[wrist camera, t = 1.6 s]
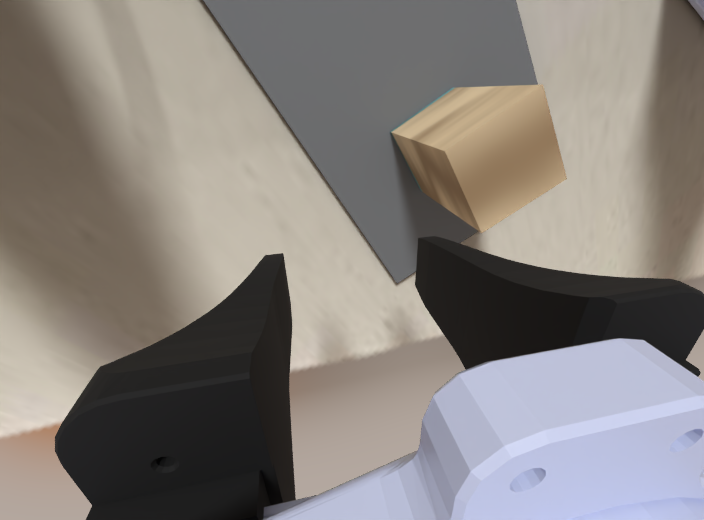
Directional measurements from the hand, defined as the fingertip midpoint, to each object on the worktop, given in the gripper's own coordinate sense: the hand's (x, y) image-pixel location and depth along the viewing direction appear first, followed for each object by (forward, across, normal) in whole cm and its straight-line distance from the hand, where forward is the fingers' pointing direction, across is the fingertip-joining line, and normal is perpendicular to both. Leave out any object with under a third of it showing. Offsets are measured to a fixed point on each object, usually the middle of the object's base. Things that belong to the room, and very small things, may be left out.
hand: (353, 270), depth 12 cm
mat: (+10, -6, -6) cm, 13 cm away
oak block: (+10, -7, -3) cm, 13 cm away
